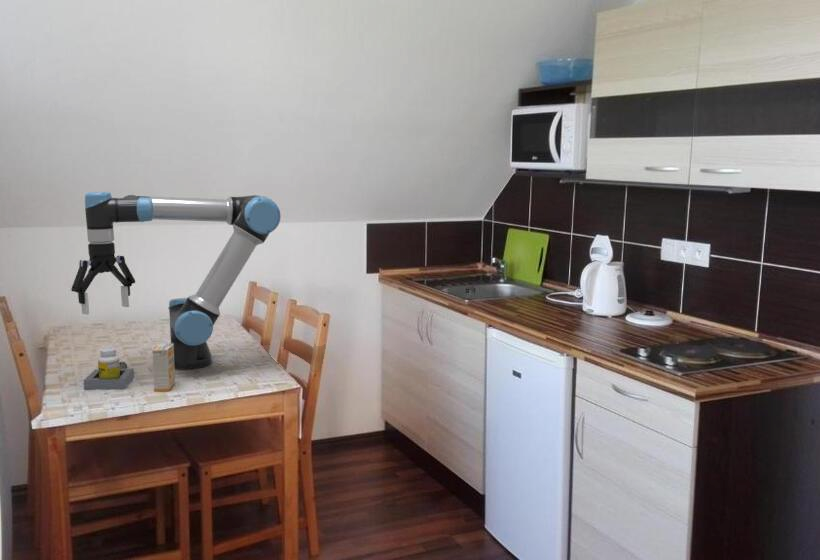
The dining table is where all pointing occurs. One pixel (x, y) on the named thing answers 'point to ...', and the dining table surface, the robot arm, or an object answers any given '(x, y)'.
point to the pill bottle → (108, 363)
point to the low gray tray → (109, 379)
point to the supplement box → (163, 367)
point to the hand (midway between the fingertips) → (106, 310)
